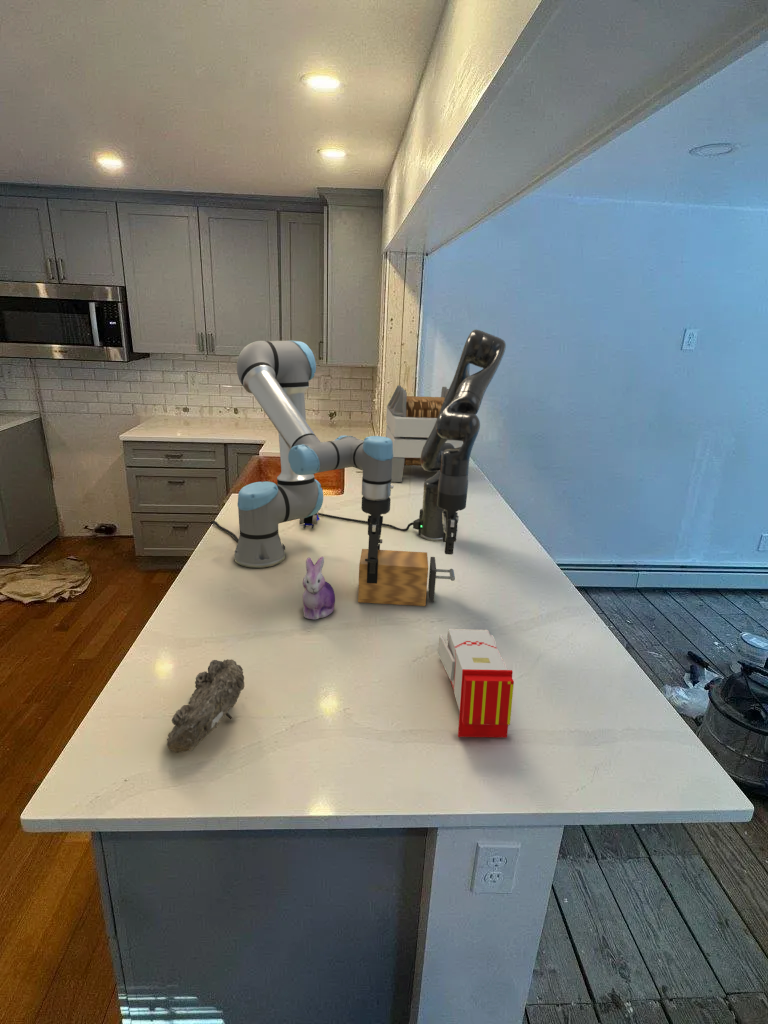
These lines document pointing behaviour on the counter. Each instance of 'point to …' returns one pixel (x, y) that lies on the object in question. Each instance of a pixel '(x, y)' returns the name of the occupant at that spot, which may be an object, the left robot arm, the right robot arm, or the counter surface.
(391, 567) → the zigzag wood grain block
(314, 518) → the figurine character
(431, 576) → the drawer
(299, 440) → the left robot arm
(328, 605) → the figurine
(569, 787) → the counter surface
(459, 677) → the toy
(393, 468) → the transformer
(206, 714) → the fossil
